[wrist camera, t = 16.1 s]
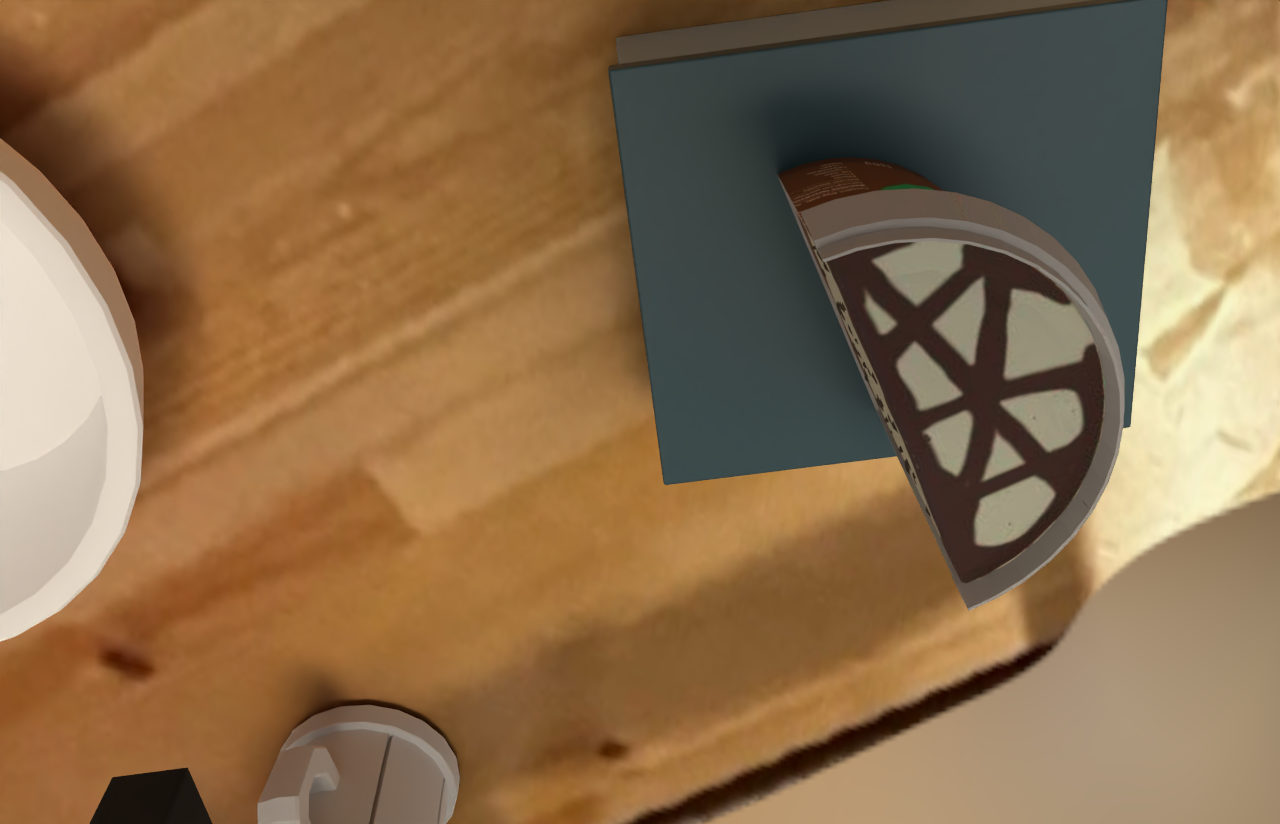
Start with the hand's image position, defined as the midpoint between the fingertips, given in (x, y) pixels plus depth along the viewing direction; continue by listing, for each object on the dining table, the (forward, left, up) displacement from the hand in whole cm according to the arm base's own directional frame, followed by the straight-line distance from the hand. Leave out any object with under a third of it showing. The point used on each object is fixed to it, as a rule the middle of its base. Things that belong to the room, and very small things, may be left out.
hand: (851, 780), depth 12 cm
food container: (-7, +5, -26) cm, 28 cm away
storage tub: (-6, +5, -34) cm, 35 cm away
